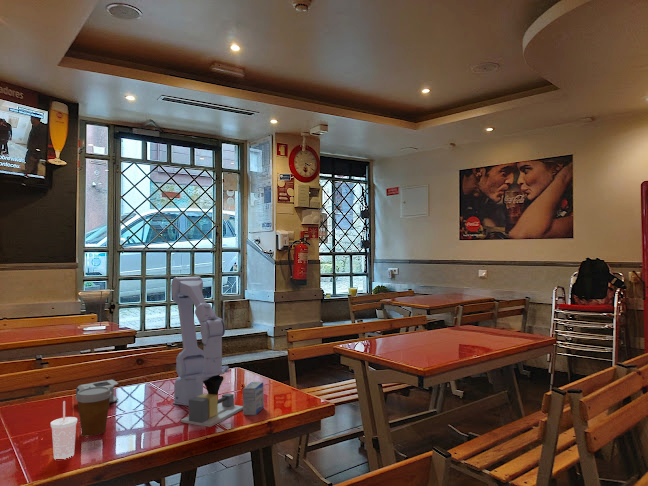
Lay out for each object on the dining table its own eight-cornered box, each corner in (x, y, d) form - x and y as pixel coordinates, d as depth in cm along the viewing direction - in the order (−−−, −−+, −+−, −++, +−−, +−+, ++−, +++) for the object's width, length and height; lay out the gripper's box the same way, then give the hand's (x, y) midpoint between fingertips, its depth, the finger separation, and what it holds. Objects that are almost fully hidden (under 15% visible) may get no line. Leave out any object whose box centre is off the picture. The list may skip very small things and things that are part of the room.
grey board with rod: (181, 422, 145) (181, 398, 145) (216, 404, 162) (216, 383, 162) (210, 427, 141) (210, 402, 141) (243, 408, 157) (243, 387, 157)
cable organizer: (83, 391, 157) (120, 384, 165) (74, 383, 167) (109, 377, 174) (83, 411, 157) (120, 403, 165) (74, 402, 167) (109, 395, 174)
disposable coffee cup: (87, 440, 131) (87, 397, 132) (68, 434, 136) (68, 392, 137) (118, 429, 139) (118, 388, 140) (99, 423, 144) (99, 384, 145)
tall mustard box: (196, 416, 147) (196, 396, 147) (204, 412, 151) (204, 393, 151) (209, 418, 145) (209, 398, 145) (217, 414, 149) (217, 394, 149)
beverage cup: (44, 459, 120) (44, 403, 120) (65, 449, 125) (65, 396, 126) (62, 462, 117) (62, 406, 118) (82, 453, 123) (82, 399, 123)
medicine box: (255, 415, 150) (255, 388, 150) (242, 415, 151) (242, 387, 151) (263, 408, 158) (263, 382, 158) (251, 407, 159) (251, 381, 159)
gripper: (208, 363, 143) (209, 408, 143) (236, 353, 156) (236, 394, 156) (190, 361, 146) (190, 405, 146) (218, 352, 159) (218, 392, 159)
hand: (213, 399), depth 151 cm, fingers closed
